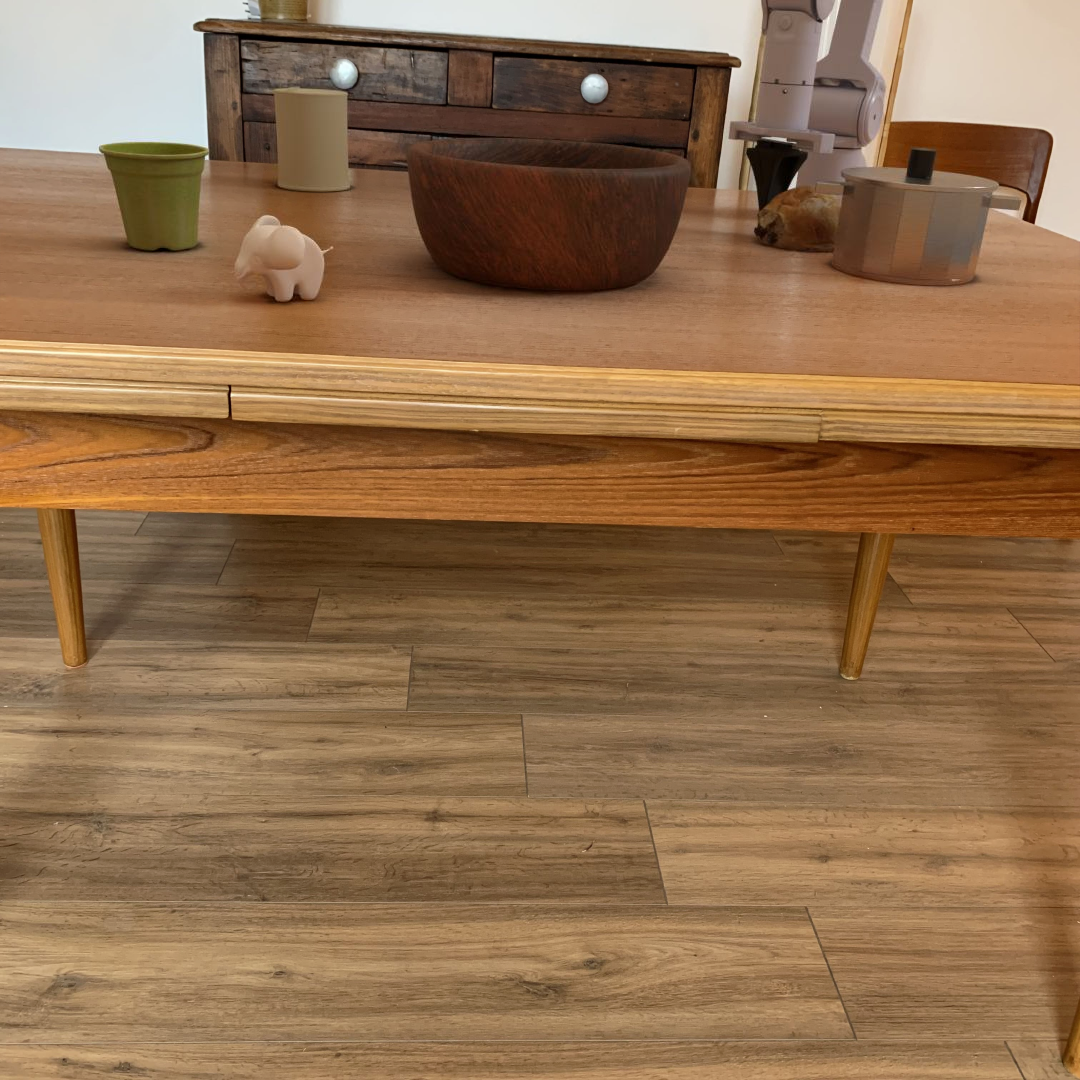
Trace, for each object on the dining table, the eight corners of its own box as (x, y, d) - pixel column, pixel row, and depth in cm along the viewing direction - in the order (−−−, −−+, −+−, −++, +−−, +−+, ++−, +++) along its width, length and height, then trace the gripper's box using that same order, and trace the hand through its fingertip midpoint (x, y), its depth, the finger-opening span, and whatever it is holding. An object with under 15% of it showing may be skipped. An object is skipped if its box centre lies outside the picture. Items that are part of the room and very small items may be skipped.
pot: (808, 250, 117) (821, 167, 114) (994, 268, 113) (1014, 182, 109) (800, 273, 105) (814, 181, 102) (1008, 294, 101) (1030, 199, 97)
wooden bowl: (640, 246, 114) (649, 142, 109) (715, 302, 92) (731, 174, 87) (399, 242, 109) (398, 133, 105) (417, 299, 87) (417, 164, 83)
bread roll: (827, 288, 117) (872, 221, 113) (745, 239, 116) (788, 170, 113) (823, 271, 126) (865, 208, 122) (747, 225, 125) (786, 161, 121)
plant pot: (237, 244, 104) (230, 148, 100) (167, 260, 96) (158, 156, 92) (160, 233, 107) (151, 139, 104) (87, 246, 99) (74, 146, 96)
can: (264, 183, 142) (258, 83, 137) (325, 180, 147) (322, 84, 142) (302, 193, 136) (298, 89, 131) (364, 189, 141) (362, 89, 136)
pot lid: (841, 174, 114) (847, 137, 112) (989, 186, 111) (997, 148, 109) (837, 190, 101) (843, 149, 100) (1003, 204, 98) (1013, 162, 96)
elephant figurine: (222, 292, 86) (216, 214, 84) (320, 285, 90) (317, 211, 87) (246, 311, 81) (241, 229, 78) (349, 304, 85) (347, 225, 82)
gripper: (714, 78, 121) (700, 205, 127) (807, 88, 110) (787, 226, 116) (761, 80, 124) (746, 203, 130) (856, 89, 113) (835, 223, 119)
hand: (768, 214), depth 123 cm, fingers closed
